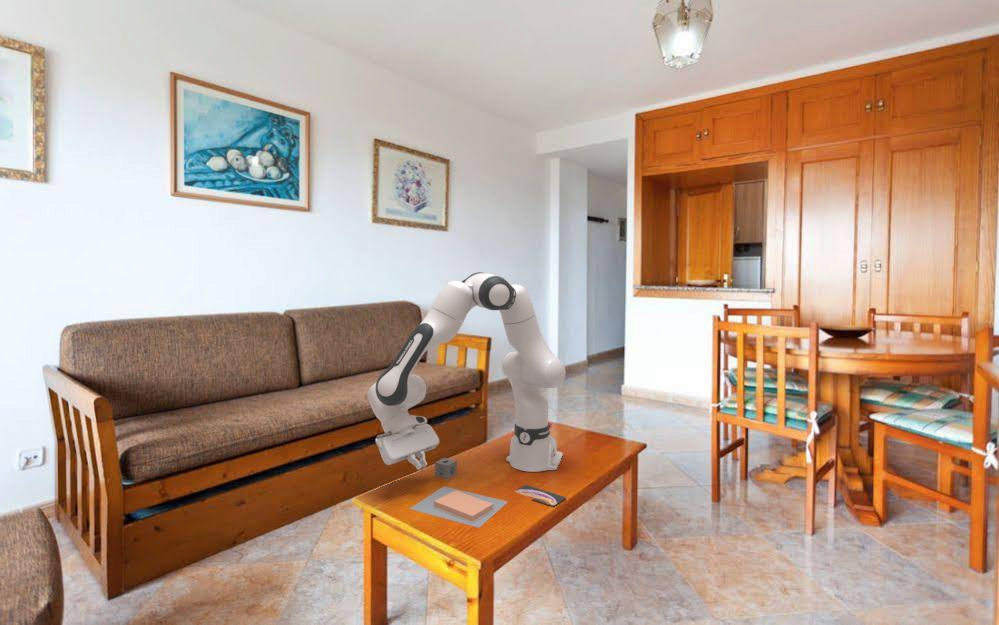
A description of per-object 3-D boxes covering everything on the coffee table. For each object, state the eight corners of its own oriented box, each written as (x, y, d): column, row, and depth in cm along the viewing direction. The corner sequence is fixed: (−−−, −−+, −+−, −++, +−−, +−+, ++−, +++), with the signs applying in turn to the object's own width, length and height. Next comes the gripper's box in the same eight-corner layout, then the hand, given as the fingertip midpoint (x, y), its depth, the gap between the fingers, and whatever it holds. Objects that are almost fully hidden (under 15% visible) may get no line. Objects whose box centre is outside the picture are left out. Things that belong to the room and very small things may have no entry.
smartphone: (554, 506, 139) (510, 492, 149) (553, 509, 139) (510, 495, 149) (567, 497, 145) (525, 483, 154) (567, 499, 145) (525, 486, 155)
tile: (433, 501, 138) (472, 516, 129) (455, 490, 145) (493, 503, 137) (433, 507, 138) (472, 522, 130) (455, 496, 145) (493, 510, 137)
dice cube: (435, 477, 160) (435, 462, 160) (444, 472, 164) (444, 457, 164) (447, 480, 157) (447, 465, 157) (456, 475, 162) (456, 460, 161)
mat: (443, 487, 152) (443, 486, 152) (508, 503, 142) (508, 501, 142) (409, 510, 137) (409, 508, 137) (478, 529, 127) (479, 527, 127)
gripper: (378, 430, 141) (401, 472, 136) (429, 415, 158) (451, 452, 153) (367, 442, 144) (390, 484, 139) (419, 426, 161) (440, 463, 156)
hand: (422, 467), depth 146 cm, fingers closed
